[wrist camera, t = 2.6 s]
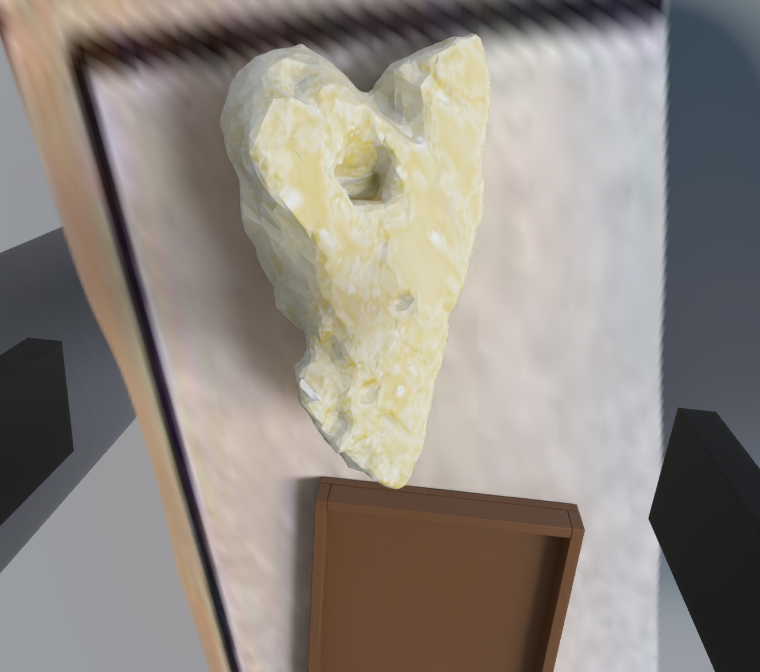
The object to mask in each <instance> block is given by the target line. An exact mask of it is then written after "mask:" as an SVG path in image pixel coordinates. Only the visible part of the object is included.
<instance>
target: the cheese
mask: <svg viewBox="0 0 760 672" xmlns="http://www.w3.org/2000/svg"><path fill="white" fill-rule="evenodd" d="M490 97H491V80H490V71H489V65H488V62H487V58H486V55H485V52H484V49H483V46H482V42H481V39H480V38H479V37H478V36H477V35H475V34H473V33H472V34H469V35H466V36H464V37H450V38H448V39H446V40H444V41H441V42H438V43H436V44H434V45H432V46H430V47H426V48H423V49H421V50H419V51H417V52H415V53H413V54H412V55H410V56H408V57H406V58H403V59H400V60H398V61H396V62H393V63H391V64H390V65H389V66H388V67H387V69H386V70H385V71H384V72H383V74H382V75H381V77H380V78H379V79H378V80H377V81H376V83H375V85H374V87H373V88H372V89H371V90H370V91H369V92H367V93H366V92H362V91H359V90H358V89H357V88H356V87H355V86H354V84H353V83H352V82H351V81H350V80H349V79H348V78H347V77H346V76H345V75H344V74H343V73H342V72H341V71H340V70H339V69H337V68H336V67H335V66H334V65H333V64H332V63H331V62H329V61H328V60H327V59H325V58H323V57H321V56H320V55H318V54H317V53H315V52H313V51H312V50H310V49H309V48H307V47H306V46H304V45H302V44H299V45H297V46H294V47H291V48H282V49H275V50H271V51H269V52H268V53H266V54H261V55H259V56H256V57H254V58H253V59H252V60H251V61H250V62H249V63H248V64H247V65H246V66H245V67H244V68H242V69H241V70H240V71H239V72H237V74H236V76H235V78H234V79H233V81H232V82H231V84H230V85H229V89H228V97H227V100H226V103H225V105H224V108H223V111H222V114H221V117H220V127H221V130H222V132H223V134H224V137H225V139H224V142H225V147H226V152H227V155H228V157H229V159H230V162H231V164H232V165H233V167H234V169H235V171H236V172H237V175H238V178H239V181H240V213H241V219H242V222H243V224H244V231H245V233H246V235H247V236H248V238H249V239H250V240H251V241H252V242H253V244H254V245H255V249H256V253H257V257H258V261H259V263H260V265H261V267H262V269H263V271H264V273H265V274H266V276H267V278H268V279H269V281H270V283H271V284H272V286H273V288H274V298H275V307H276V308H277V309H278V310H279V311H280V312H281V314H282V315H283V316H284V317H285V318H287V319H288V320H289V321H290V322H291V323H292V324H293V325H295V326H296V327H298V328H299V329H302V330H304V334H305V339H306V348H305V353H304V355H303V356H302V358H301V360H299V361H298V362H297V363H296V364H295V366H294V380H295V383H296V387H297V390H298V397H299V401H300V403H301V405H302V406H303V407H304V408H305V410H306V411H307V412H308V414H309V415H310V417H311V419H312V421H313V422H314V424H315V426H316V427H317V429H318V431H319V432H320V433H321V435H322V436H323V438H324V439H325V441H326V442H327V443H328V444H329V445H330V446H332V448H333V449H334V450H335V452H336V453H339V454H340V455H341V456H342V458H343V459H344V461H345V462H346V464H347V466H348V467H349V468H352V469H355V470H358V471H362V472H364V473H366V474H367V475H368V476H370V477H371V478H373V479H374V480H376V481H377V482H378V483H380V484H382V485H384V486H386V487H389V488H393V489H400V488H402V487H404V486H405V484H406V483H407V481H408V480H409V478H410V477H411V475H412V471H413V468H414V465H415V463H416V461H417V460H418V458H419V456H420V454H421V452H422V450H423V448H424V443H425V436H426V425H427V418H428V415H429V412H430V408H431V404H432V399H433V393H434V385H435V382H436V379H437V376H438V374H439V371H440V369H441V365H442V360H443V354H444V350H445V347H446V344H447V340H448V332H449V328H448V317H449V315H450V313H451V312H452V310H453V309H454V307H455V306H456V304H457V301H458V297H459V294H460V292H461V290H462V288H463V286H464V284H465V279H466V272H467V268H468V264H469V260H470V257H471V254H472V251H473V248H474V241H475V235H476V230H477V227H478V225H479V224H480V222H481V221H482V219H483V201H484V188H485V184H484V181H483V177H482V153H483V148H484V141H485V135H486V127H487V124H488V121H489V115H490Z"/></svg>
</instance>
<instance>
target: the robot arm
mask: <svg viewBox="0 0 760 672" xmlns="http://www.w3.org/2000/svg"><path fill="white" fill-rule="evenodd" d="M73 451H74V449H73V440H72V430H71V421H70V412H69V403H68V394H67V385H66V376H65V367H64V358H63V349H62V341H54V340H45V339H36V338H26V339H25V340H23V341H22V342H20V343H19V344H17V345H16V346H14V347H13V348H11V349H9V350H8V351H6V352H5V353H3V354H2V355H0V526H1V525H2V524H3V523H4V522H5V520H6V519H7V518H8V517H9V516H10V515H11V514H12V513H13V512H14V511H15V510H16V509H17V508H18V507H19V506H20V505H21V504H22V503H23V502H24V501H25V500H26V499H27V498H28V497H29V496H30V495H31V494H32V493H33V492H34V491H35V490H36V489H37V488H38V487H39V486H40V485H41V484H42V483H43V482H44V481H45V480H46V479H47V478H48V476H49V475H50V474H51V473H52V472H53V471H54V470H55V469H56V468H57V467H58V466H59V465H60V464H61V463H62V462H63V461H64V460H65V459H66V458H67V457H68V456H69V455H70V454H71V453H72V452H73ZM648 519H649V521H650V523H651V526H652V528H653V530H654V533H655V535H656V537H657V539H658V542H659V544H660V546H661V549H662V551H663V553H664V555H665V558H666V560H667V562H668V565H669V567H670V569H671V572H672V574H673V576H674V578H675V581H676V583H677V585H678V588H679V590H680V592H681V595H682V597H683V599H684V601H685V604H686V606H687V608H688V611H689V613H690V615H691V618H692V620H693V622H694V624H695V627H696V629H697V631H698V634H699V636H700V638H701V640H702V643H703V645H704V647H705V649H706V652H707V654H708V657H709V659H710V661H711V663H712V666H713V668H714V670H715V672H760V469H759V467H758V466H757V465H756V464H755V462H754V461H753V460H752V458H751V457H750V456H749V454H748V453H747V452H746V450H745V449H744V448H743V446H742V445H741V444H740V443H739V441H738V440H737V439H736V437H735V436H734V435H733V433H732V432H731V431H730V429H729V428H728V427H727V425H726V424H725V423H724V422H723V420H722V419H721V418H720V416H719V415H718V414H717V412H711V411H703V410H693V409H684V408H678V410H677V413H676V417H675V421H674V425H673V428H672V432H671V436H670V440H669V443H668V448H667V451H666V455H665V458H664V462H663V466H662V469H661V473H660V477H659V481H658V484H657V488H656V492H655V496H654V499H653V503H652V507H651V511H650V514H649V518H648Z"/></svg>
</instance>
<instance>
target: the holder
mask: <svg viewBox="0 0 760 672" xmlns="http://www.w3.org/2000/svg"><path fill="white" fill-rule="evenodd" d="M584 532H585V529H584V526H583V523H582V520H581V516H580V513H579V510H578V507H577V505H574V504H565V503H556V502H547V501H537V500H528V499H519V498H510V497H501V496H492V495H483V494H474V493H465V492H456V491H447V490H438V489H429V488H419V487H410V486H404V487H402V488H400V489H393V488H389V487H386V486H384V485H382V484H380V483H374V482H365V481H356V480H347V479H338V478H329V477H322V478H321V481H320V485H319V488H318V492H317V495H316V498H315V511H314V534H313V558H312V581H311V604H310V627H309V651H308V672H553V670H554V666H555V661H556V657H557V652H558V648H559V643H560V639H561V634H562V630H563V626H564V621H565V617H566V612H567V608H568V603H569V599H570V594H571V590H572V585H573V581H574V576H575V572H576V567H577V563H578V558H579V554H580V549H581V545H582V540H583V536H584Z"/></svg>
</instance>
